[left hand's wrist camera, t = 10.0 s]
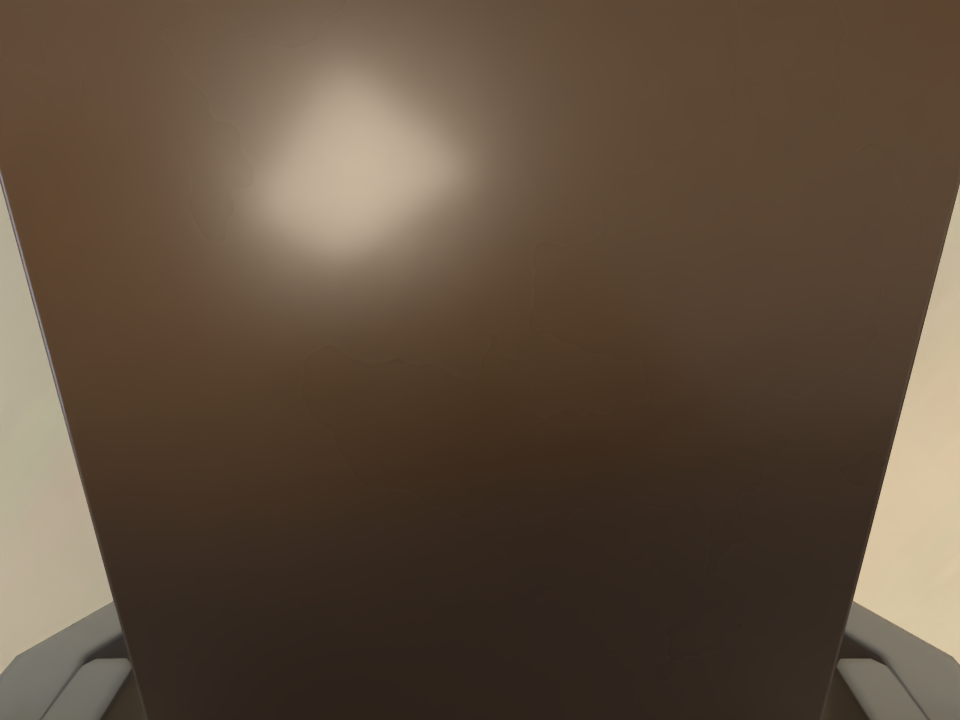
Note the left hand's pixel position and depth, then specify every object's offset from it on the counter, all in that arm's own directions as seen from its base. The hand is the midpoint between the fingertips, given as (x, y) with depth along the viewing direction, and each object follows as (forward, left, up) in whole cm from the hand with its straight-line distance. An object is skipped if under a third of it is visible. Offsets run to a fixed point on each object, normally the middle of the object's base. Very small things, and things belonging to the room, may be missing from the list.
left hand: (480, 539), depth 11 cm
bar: (+7, -4, -3) cm, 9 cm away
